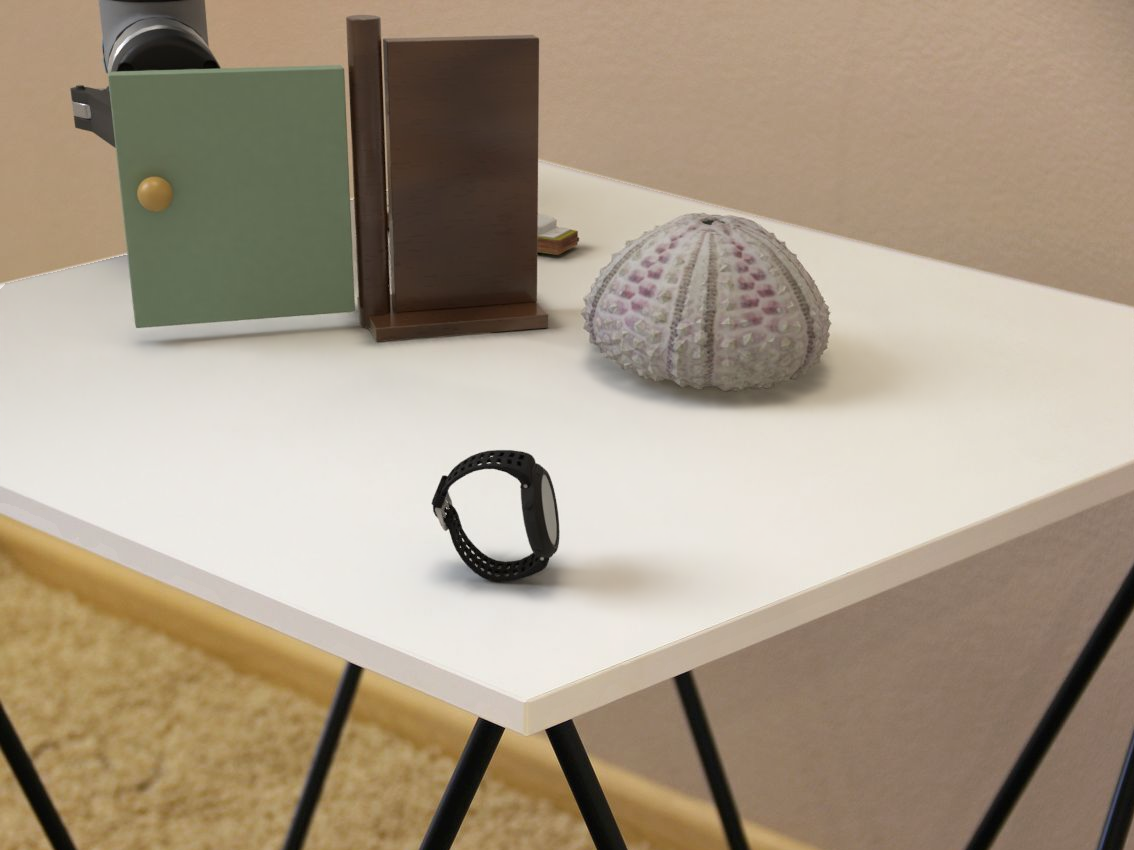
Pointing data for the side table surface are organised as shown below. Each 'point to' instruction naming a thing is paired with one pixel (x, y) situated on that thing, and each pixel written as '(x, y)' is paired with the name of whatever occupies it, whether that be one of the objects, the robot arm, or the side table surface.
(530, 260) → the door frame
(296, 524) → the side table surface
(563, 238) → the harmonica
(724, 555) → the side table surface
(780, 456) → the side table surface
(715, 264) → the sea urchin shell
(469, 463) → the smartwatch
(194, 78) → the door
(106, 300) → the side table surface
